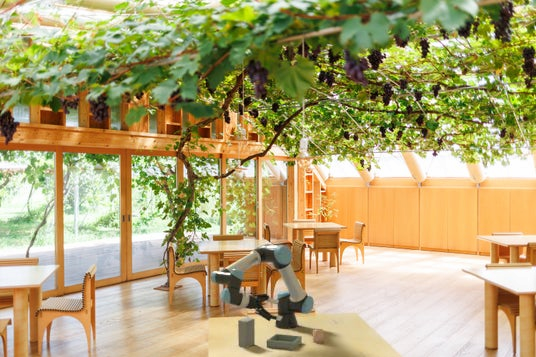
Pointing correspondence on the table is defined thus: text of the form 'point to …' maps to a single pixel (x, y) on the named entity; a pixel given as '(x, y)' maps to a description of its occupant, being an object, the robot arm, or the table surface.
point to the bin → (284, 341)
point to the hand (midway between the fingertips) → (279, 310)
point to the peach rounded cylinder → (318, 336)
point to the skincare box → (246, 332)
